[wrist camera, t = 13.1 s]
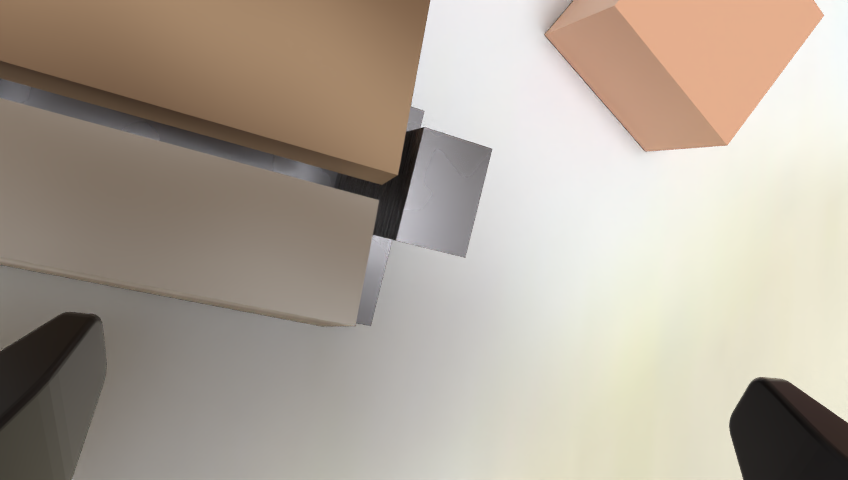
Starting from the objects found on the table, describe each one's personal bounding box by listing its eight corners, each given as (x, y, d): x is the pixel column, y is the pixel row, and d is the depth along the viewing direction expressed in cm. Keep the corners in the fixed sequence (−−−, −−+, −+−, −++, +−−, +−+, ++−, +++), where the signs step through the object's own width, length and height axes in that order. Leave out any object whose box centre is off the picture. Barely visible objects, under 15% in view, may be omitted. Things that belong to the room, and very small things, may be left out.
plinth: (645, 151, 25) (726, 145, 21) (544, 34, 23) (614, 5, 20) (731, 39, 26) (823, 15, 22) (641, -81, 24) (725, -130, 21)
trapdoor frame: (362, 320, 22) (458, 389, 14) (-155, 217, 17) (-421, 240, 9) (414, 114, 22) (536, 76, 14) (-86, -49, 17) (-295, -236, 9)
